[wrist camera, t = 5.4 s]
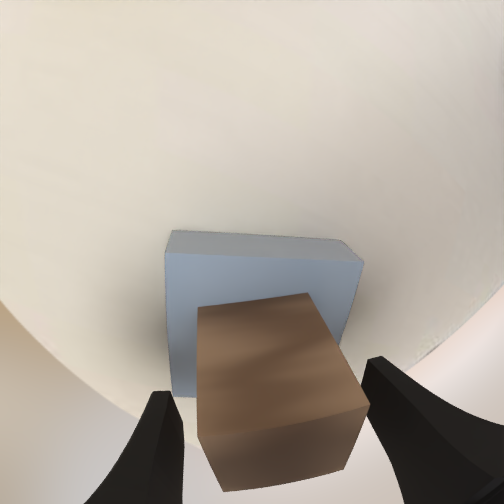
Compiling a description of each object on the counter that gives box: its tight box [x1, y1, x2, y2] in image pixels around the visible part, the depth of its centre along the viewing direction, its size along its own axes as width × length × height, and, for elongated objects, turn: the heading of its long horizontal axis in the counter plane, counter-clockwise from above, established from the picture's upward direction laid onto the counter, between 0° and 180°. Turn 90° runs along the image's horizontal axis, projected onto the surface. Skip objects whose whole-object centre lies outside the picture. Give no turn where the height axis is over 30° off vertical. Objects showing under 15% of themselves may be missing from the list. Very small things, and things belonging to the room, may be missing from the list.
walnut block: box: [197, 292, 370, 492], centre depth 10 cm, size 4×4×6 cm
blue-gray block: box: [165, 230, 364, 398], centre depth 14 cm, size 8×8×3 cm
